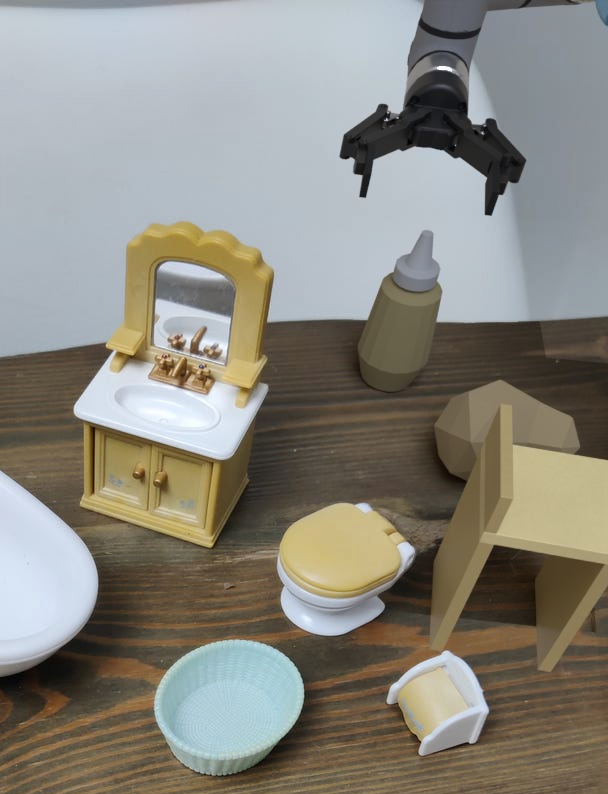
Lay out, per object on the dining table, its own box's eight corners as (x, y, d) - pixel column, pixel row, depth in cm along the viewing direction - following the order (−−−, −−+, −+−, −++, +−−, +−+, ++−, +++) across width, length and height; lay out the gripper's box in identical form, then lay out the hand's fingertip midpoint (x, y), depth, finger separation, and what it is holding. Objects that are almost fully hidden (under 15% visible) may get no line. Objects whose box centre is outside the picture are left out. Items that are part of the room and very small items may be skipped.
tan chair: (547, 582, 96) (637, 425, 80) (550, 672, 89) (650, 521, 73) (433, 561, 97) (500, 403, 81) (429, 649, 90) (500, 496, 74)
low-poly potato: (397, 475, 104) (475, 502, 95) (416, 370, 100) (500, 387, 91) (500, 473, 111) (583, 498, 101) (522, 375, 107) (611, 390, 97)
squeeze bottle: (350, 395, 111) (388, 251, 97) (351, 351, 116) (386, 207, 102) (422, 403, 111) (470, 260, 96) (419, 358, 116) (465, 215, 101)
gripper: (530, 147, 120) (533, 243, 107) (326, 119, 122) (307, 210, 110) (553, 82, 114) (559, 177, 101) (338, 55, 116) (319, 144, 104)
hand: (428, 194), depth 106 cm, fingers open, 13 cm apart
